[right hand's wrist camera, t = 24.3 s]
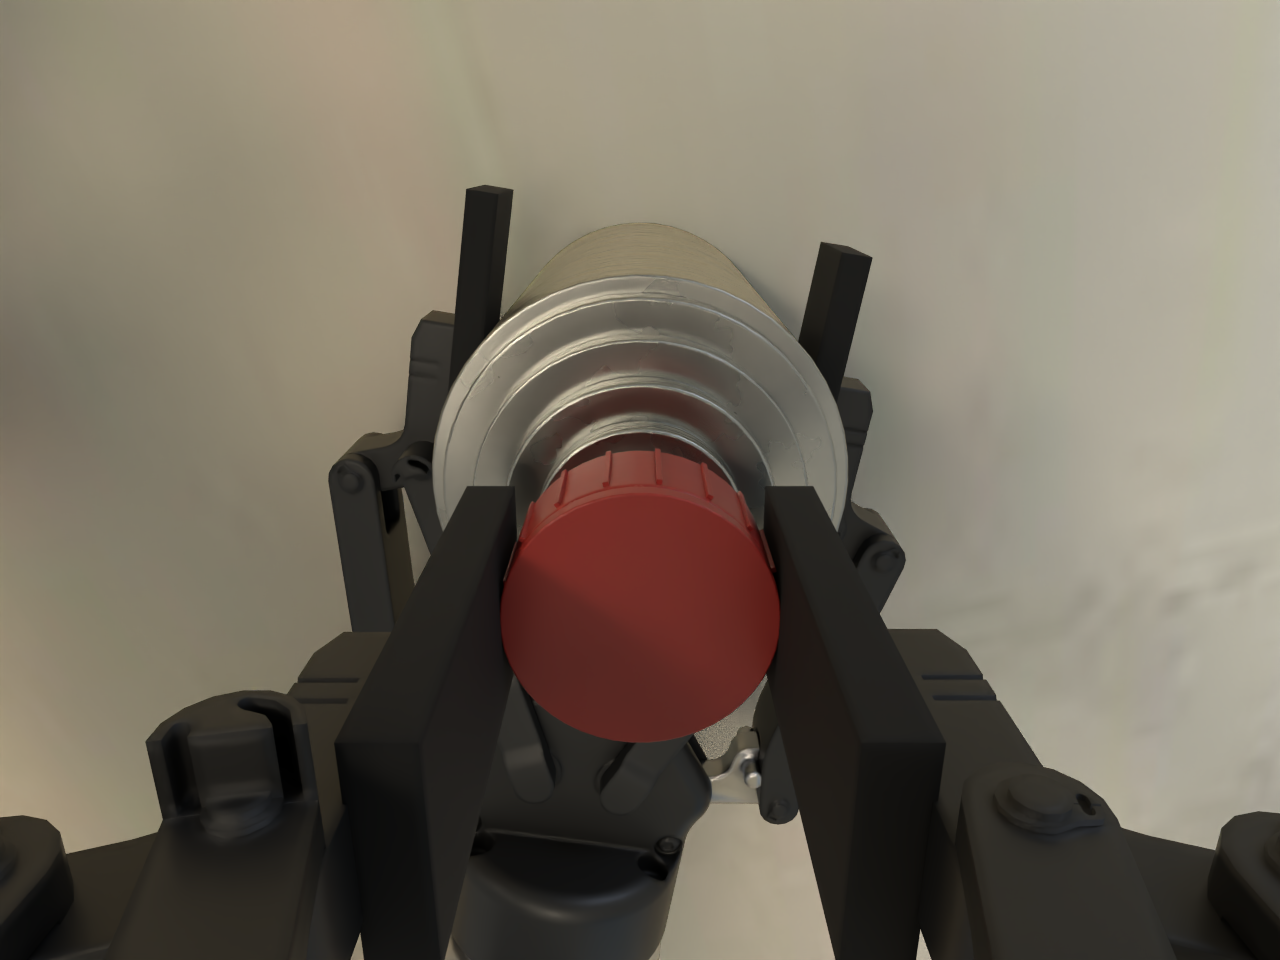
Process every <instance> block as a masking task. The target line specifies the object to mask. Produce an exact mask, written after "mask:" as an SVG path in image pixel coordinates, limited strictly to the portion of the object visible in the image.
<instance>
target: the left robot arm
mask: <svg viewBox="0 0 1280 960" xmlns="http://www.w3.org/2000/svg"><path fill="white" fill-rule="evenodd" d="M512 199H513V190H512V189H506V188H500V187H494V186H489V185H482V186H478V187H473V188H468V189H466V199H465V210H464V221H463V232H462V243H461V254H460V265H459V276H458V287H457V298H456V309H455V314H453V313H446V312H440V311H434V310H433V311H431V312H430V313H429V314H428V315H426V316H425V317H424V318H422V319H421V320H420V322H419V324H418V326H417V328H416V330H415V332H414V334H413V336H412V340H411V353H410V366H409V380H408V393H407V406H406V419H405V427H404V430H401V431H398V432H394V433H389V434H381V433H375V432H372V433H368V434H365V435H364V436H362V437H361V438H360V439H359V440H358V441H357V442H356V443H355V444H354V445H353V446H352V447H351V448H350V449H349V450H348V451H347V452H346V453H345V454H344V455H343V456H342V457H341V458H340V459H339V460H338V461H337V462H336V463H335V464H334V465H333V466H332V468H331V470H330V472H329V480H328V482H329V488H330V494H331V500H332V507H333V513H334V519H335V526H336V532H337V538H338V544H339V551H340V557H341V563H342V570H343V576H344V582H345V588H346V595H347V601H348V607H349V614H350V620H351V626H352V632H392V630H393V628H394V626H395V624H396V622H397V620H398V618H399V616H400V614H401V612H402V610H403V608H404V607H405V605H406V603H407V601H408V599H409V597H410V595H411V593H412V591H413V589H414V580H413V573H412V565H411V557H410V550H409V542H408V534H407V526H406V519H405V511H404V503H403V495H402V488H403V487H404V488H405V490H406V493H407V495H408V498H409V500H410V503H411V505H412V508H413V511H414V513H415V516H416V518H417V521H418V523H419V526H420V528H421V531H422V534H423V536H424V539H425V541H426V544H427V546H428V549H429V551H430V554H432V552H433V551H434V549H435V547H436V545H437V543H438V541H439V539H440V537H441V535H442V533H443V530H442V527H441V524H440V520H439V517H438V514H437V509H436V503H435V497H434V492H433V476H432V459H433V449H434V440H435V434H436V430H437V426H438V422H439V418H440V414H441V411H442V408H443V406H444V404H445V401H446V399H447V396H448V394H449V391H450V389H451V387H452V385H453V383H454V381H455V380H456V378H457V376H458V375H459V373H460V371H461V370H462V368H463V366H464V364H465V363H466V362H467V360H468V359H469V358H470V357H471V355H472V354H473V353H474V352H475V350H476V349H477V348H478V346H479V345H480V344H481V343H482V341H483V340H484V339H485V338H486V337H487V335H488V334H489V333H490V332H491V331H492V329H493V328H494V327H495V326H496V325H497V323H498V322H499V319H500V310H501V301H502V291H503V282H504V273H505V264H506V254H507V245H508V236H509V227H510V217H511V208H512ZM871 262H872V257H870V256H868V255H866V254H864V253H861V252H859V251H857V250H855V249H853V248H850V247H848V246H843V245H837V244H831V243H825V242H821V244H820V248H819V253H818V257H817V261H816V266H815V270H814V275H813V279H812V284H811V288H810V292H809V297H808V301H807V306H806V310H805V315H804V319H803V323H802V328H801V332H800V337H799V341H798V342H799V344H800V345H801V346H802V347H803V348H804V350H805V351H806V352H807V353H808V354H809V356H810V357H811V358H812V360H813V361H814V363H815V364H816V366H817V368H818V369H819V371H820V372H821V374H822V375H823V377H824V379H825V380H826V382H827V384H828V387H829V389H830V391H831V393H832V395H833V398H834V400H835V402H836V404H837V407H838V411H839V414H840V417H841V421H842V424H843V428H844V432H845V439H846V446H847V453H848V486H847V493H846V500H845V507H844V511H843V514H842V518H841V521H840V525H839V529H838V532H837V533H838V535H839V537H840V539H841V541H842V542H843V544H844V546H845V548H846V550H847V552H848V554H849V556H850V558H851V560H852V562H853V564H854V566H855V568H856V569H857V571H858V573H859V575H860V577H861V579H862V581H863V583H864V585H865V587H866V589H867V591H868V593H869V595H870V596H871V598H872V600H873V602H874V604H875V606H876V608H877V610H878V612H879V614H880V612H881V611H882V609H883V607H884V605H885V603H886V601H887V599H888V597H889V595H890V593H891V591H892V589H893V587H894V585H895V584H896V582H897V580H898V578H899V576H900V574H901V572H902V570H903V568H904V565H905V561H906V559H905V553H904V551H903V550H902V548H901V547H900V545H899V543H898V542H897V540H896V539H895V537H894V536H893V534H892V533H891V531H890V530H889V528H888V527H887V525H886V524H885V522H884V521H883V519H882V518H881V516H880V515H879V513H877V512H876V511H874V510H872V509H868V508H862V507H860V506H858V505H856V504H854V503H853V502H851V493H852V489H853V485H854V482H855V478H856V474H857V470H858V466H859V463H860V459H861V455H862V451H863V445H864V443H865V440H866V436H867V431H868V428H869V424H870V421H871V417H872V413H873V409H872V401H871V394H870V391H869V390H868V389H867V388H866V387H865V386H864V385H863V384H862V383H861V382H860V381H859V380H858V379H854V378H848V377H843V376H844V372H845V368H846V364H847V360H848V355H849V351H850V347H851V343H852V339H853V335H854V331H855V327H856V323H857V319H858V315H859V311H860V307H861V303H862V299H863V295H864V291H865V286H866V282H867V278H868V274H869V270H870V266H871ZM710 804H759V809H760V814H761V816H762V817H763V819H764V820H766V821H767V822H769V823H772V824H785V823H787V822H789V821H791V820H793V818H794V817H795V816H796V815H797V813H798V810H799V807H798V803H797V798H796V794H795V790H794V786H793V782H792V778H791V774H790V769H789V765H788V761H787V757H786V753H785V749H784V745H783V741H782V736H781V732H780V728H779V724H778V720H777V716H776V712H775V707H774V703H773V699H772V695H771V691H770V687H769V683H768V680H767V682H766V684H765V686H764V688H763V690H762V693H761V695H760V697H759V700H758V702H757V705H756V709H755V713H754V717H753V725H752V728H751V727H748V726H744V727H741V728H740V729H739V730H738V731H737V735H736V736H735V737H734V738H733V739H732V741H731V743H730V746H729V748H728V750H727V752H726V753H725V754H724V755H722V756H721V757H719V758H716V759H710V760H708V759H707V757H706V755H705V753H704V752H703V750H702V748H701V746H700V745H699V743H698V741H697V739H696V738H695V736H694V733H693V734H690V735H687V736H684V737H680V738H675V739H671V740H666V741H657V742H623V741H614V740H609V739H605V738H601V737H596V736H594V735H591V734H588V733H585V732H582V731H580V730H578V729H576V728H573V727H571V726H569V725H567V724H565V723H564V722H562V721H560V720H559V719H557V718H556V717H554V716H553V715H551V714H550V713H549V712H547V711H546V710H545V709H544V708H543V707H541V706H540V705H539V704H538V703H537V702H536V701H535V700H534V699H533V698H532V697H531V696H530V695H529V694H528V693H527V691H526V690H525V689H524V687H523V686H522V684H521V683H520V682H519V680H518V679H517V677H516V676H515V674H514V675H513V679H512V683H511V688H510V692H509V696H508V700H507V704H506V708H505V712H504V717H503V721H502V725H501V729H500V733H499V737H498V741H497V745H496V750H495V754H494V758H493V762H492V766H491V770H490V774H489V779H488V783H487V787H486V791H485V795H484V799H483V803H482V808H481V812H480V816H479V820H478V824H477V828H476V832H475V837H474V841H473V845H472V849H471V853H470V857H469V861H468V865H467V870H466V874H465V878H464V882H463V886H462V890H461V894H460V899H459V903H458V907H457V911H456V915H455V919H454V923H453V928H452V932H451V936H450V940H449V944H448V948H447V952H446V956H445V960H659V955H660V945H661V939H662V936H663V934H664V931H665V927H666V922H667V918H668V913H669V909H670V904H671V900H672V896H673V891H674V887H675V882H676V878H677V873H678V869H679V864H680V860H681V856H682V851H683V847H684V842H685V839H686V836H687V833H688V831H689V830H690V828H691V827H692V825H693V824H694V823H695V822H696V821H697V820H698V819H699V818H700V817H701V816H702V815H703V814H704V813H705V812H706V810H707V809H708V807H709V805H710Z"/></svg>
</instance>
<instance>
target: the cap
mask: <svg viewBox="0 0 1280 960" xmlns="http://www.w3.org/2000/svg"><path fill="white" fill-rule="evenodd" d="M774 572H777V571H776V568H775V564H774V561H773V558H772V555H771V552H770V549H769V546H768V543H767V540H766V537H765V534H764V531H763V529H762V530H759V529H758V526H757V524H756V521H755V519H754V517H753V515H752V513H751V512H750V510H749V508H748V506H747V505H746V502H745V499H744V496H743V493H742V492H741V491H739V492H736V491H735V490H734V489H733V488H732V487H731V486H730V485H729V484H728V483H727V482H726V481H725V480H723V479H722V478H721V477H719V476H718V475H716V474H715V473H714V472H712V471H711V470H709V469H708V468H707V464H705V463H703V462H702V463H701V465H700V464H698V463H696V462H693V461H691V460H688V459H686V458H683V457H679V456H676V455H672V454H668V453H662V452H661V450H660V449H656V448H655V452H654V451H627V452H618V453H613V454H612V452H611V451H607V452H606V455H605V456H601V457H598V458H595V459H592V460H590V461H587V462H585V463H582V464H581V465H579V466H577V467H575V468H573V469H571V470H570V471H567V470H566V469H565V470H564V471H562V473H561V477H560V478H558V479H557V480H556V481H555V482H554V483H553V484H552V485H550V486H549V487H548V488H547V489H546V490H545V491H544V492H543V494H542V495H541V496H540V497H539V499H538V500H537V501H536V502H535V503H534V502H533V501H532V502H531V503H530V505H529V508H528V511H527V514H526V517H525V521H524V524H523V527H522V530H521V532H520V535H519V539H518V542H515V545H514V548H513V551H512V554H511V557H510V560H509V564H508V567H507V570H506V573H505V576H504V579H503V586H504V587H503V591H502V595H501V600H500V622H501V637H502V644H503V648H504V651H505V654H506V656H507V659H508V662H509V664H510V666H511V668H512V670H513V672H514V674H515V676H516V677H517V679H518V680H519V682H520V683H521V684H522V686H523V687H524V689H525V690H526V691H527V693H528V694H529V695H530V696H531V697H532V698H533V699H534V700H535V701H536V702H537V703H538V704H539V705H540V706H541V707H543V708H544V709H545V710H546V711H547V712H549V713H550V714H551V715H553V716H554V717H556V718H557V719H559V720H560V721H562V722H564V723H565V724H567V725H569V726H571V727H573V728H576V729H578V730H580V731H582V732H585V733H588V734H591V735H594V736H596V737H601V738H605V739H609V740H614V741H623V742H657V741H666V740H671V739H675V738H680V737H684V736H687V735H690V734H693V733H695V732H698V731H701V730H703V729H705V728H707V727H709V726H711V725H713V724H715V723H717V722H718V721H720V720H721V719H723V718H725V717H726V716H728V715H729V714H730V713H732V712H733V711H734V710H735V709H737V708H738V707H739V706H740V705H742V704H743V702H744V701H745V700H746V699H747V698H748V697H749V696H750V695H751V694H752V693H753V692H754V691H755V689H756V688H757V686H758V685H759V684H760V682H761V681H762V680H763V678H764V676H765V674H766V672H767V671H768V669H769V667H770V665H771V663H772V660H773V658H774V655H775V652H776V649H777V645H778V640H779V625H780V598H779V594H778V589H777V585H776V582H775V579H774V576H773V573H774Z"/></svg>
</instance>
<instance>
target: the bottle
mask: <svg viewBox="0 0 1280 960" xmlns="http://www.w3.org/2000/svg"><path fill="white" fill-rule="evenodd" d="M655 448H656V449H660V450H661V452H662V453H668V454H672V455H676V456H679V457H683V458H686V459H688V460H691V461H693V462H696V463H698V464H700V465H701V463H702V462H703V463H705V464H707V468H708V469H709V470H711V471H712V472H714V473H715V474H716V475H718V476H719V477H721V478H722V479H723V480H725V481H726V482H727V483H728V484H729V485H730V486H731V487H732V488H733V489H734V490H735V491H736V492H739V491H741V492H742V493H743V496H744V499H745V502H746V505H747V506H748V508H749V510H750V512H751V513H752V515H753V517H754V519H755V521H756V524H757V526H758V529H759V530H762V529H763V522H764V503H765V486H814V488H815V490H816V492H817V494H818V496H819V498H820V500H821V502H822V504H823V506H824V508H825V510H826V512H827V513H828V515H829V517H830V519H831V521H832V523H833V525H834V527H835V529H836V531H837V532H838V529H839V525H840V521H841V518H842V514H843V511H844V507H845V500H846V493H847V486H848V453H847V446H846V439H845V432H844V428H843V424H842V421H841V417H840V414H839V411H838V407H837V404H836V402H835V400H834V398H833V395H832V393H831V391H830V389H829V387H828V384H827V382H826V380H825V379H824V377H823V375H822V374H821V372H820V371H819V369H818V368H817V366H816V364H815V363H814V361H813V360H812V358H811V357H810V356H809V354H808V353H807V352H806V351H805V350H804V348H803V347H802V346H801V345H800V344H799V342H798V341H797V340H796V339H795V338H794V336H793V335H792V334H791V333H790V332H789V330H788V329H787V328H786V327H785V326H784V324H783V323H782V322H781V321H780V320H779V318H778V317H777V316H776V315H775V314H774V312H773V311H772V310H771V309H770V308H769V306H768V305H767V304H766V303H765V302H764V300H763V299H762V298H761V297H760V295H759V294H758V293H757V292H756V291H755V289H754V288H753V287H752V286H751V285H750V283H749V282H748V281H747V280H746V279H745V277H744V276H743V275H742V274H741V273H740V271H739V270H738V269H737V268H736V267H735V266H734V264H733V263H732V262H731V261H730V260H729V259H728V258H727V257H726V256H725V255H723V254H722V253H721V252H720V251H719V250H718V249H717V248H715V247H714V246H712V245H711V244H709V243H708V242H706V241H705V240H703V239H701V238H699V237H697V236H695V235H693V234H691V233H689V232H686V231H683V230H680V229H677V228H674V227H671V226H666V225H660V224H655V223H628V224H619V225H615V226H610V227H606V228H602V229H600V230H597V231H594V232H592V233H589V234H587V235H585V236H583V237H581V238H580V239H578V240H576V241H574V242H572V243H571V244H570V245H568V246H567V247H565V248H564V249H563V250H561V251H560V252H559V253H558V254H557V255H556V256H555V257H554V258H553V259H552V260H550V261H549V262H548V263H547V265H546V266H545V267H544V268H543V269H542V271H541V272H540V273H539V274H538V275H537V277H536V278H535V279H534V280H533V281H532V283H531V284H530V285H529V286H528V287H527V289H526V290H525V291H524V292H523V293H522V295H521V296H520V297H519V298H518V299H517V301H516V302H515V303H514V304H513V305H512V307H511V308H510V309H509V310H508V311H507V313H506V314H505V315H504V316H503V317H502V319H501V320H500V321H499V322H498V323H497V325H496V326H495V327H494V328H493V329H492V331H491V332H490V333H489V334H488V335H487V337H486V338H485V339H484V340H483V341H482V343H481V344H480V345H479V346H478V348H477V349H476V350H475V352H474V353H473V354H472V355H471V357H470V358H469V359H468V360H467V362H466V363H465V364H464V366H463V368H462V370H461V371H460V373H459V375H458V376H457V378H456V380H455V381H454V383H453V385H452V387H451V389H450V391H449V394H448V396H447V399H446V401H445V404H444V406H443V408H442V411H441V414H440V418H439V422H438V426H437V430H436V434H435V440H434V449H433V459H432V476H433V492H434V497H435V503H436V509H437V514H438V517H439V520H440V524H441V527H442V530H443V531H444V529H445V527H446V525H447V524H448V522H449V520H450V518H451V516H452V514H453V512H454V510H455V508H456V506H457V504H458V502H459V500H460V498H461V497H462V495H463V493H464V491H465V489H466V487H467V486H515V499H516V518H517V538H518V539H519V535H520V532H521V530H522V527H523V524H524V521H525V517H526V514H527V511H528V508H529V505H530V503H531V502H532V501H533V502H534V503H535V502H536V501H537V500H538V499H539V497H540V496H541V495H542V494H543V492H544V491H545V490H546V489H547V488H548V487H549V486H550V485H552V484H553V483H554V482H555V481H556V480H557V479H558V478H560V477H561V473H562V471H564V470H565V469H566V470H567V471H570V470H571V469H573V468H575V467H577V466H579V465H581V464H582V463H585V462H587V461H590V460H592V459H595V458H598V457H601V456H605V455H606V452H607V451H611V452H612V454H613V453H618V452H627V451H654V452H655Z"/></svg>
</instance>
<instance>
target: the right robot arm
mask: <svg viewBox="0 0 1280 960" xmlns="http://www.w3.org/2000/svg"><path fill="white" fill-rule="evenodd" d="M763 531H764V534H765V537H766V540H767V543H768V546H769V549H770V552H771V555H772V558H773V561H774V564H775V568H776V571H777V572H774V573H773V576H774V579H775V582H776V585H777V589H778V594H779V598H780V625H779V640H778V645H777V649H776V652H775V655H774V658H773V660H772V663H771V665H770V667H769V669H768V671H767V672H766V674H767V678H768V683H769V687H770V691H771V695H772V699H773V703H774V707H775V712H776V716H777V720H778V724H779V728H780V732H781V736H782V741H783V745H784V749H785V753H786V757H787V761H788V765H789V769H790V774H791V778H792V782H793V786H794V790H795V794H796V798H797V803H798V807H799V811H800V815H801V819H802V823H803V827H804V832H805V836H806V840H807V844H808V848H809V852H810V856H811V860H812V865H813V869H814V873H815V877H816V881H817V885H818V889H819V894H820V898H821V902H822V906H823V910H824V914H825V918H826V923H827V927H828V931H829V935H830V939H831V943H832V947H833V951H834V956H835V960H916V956H917V949H918V942H919V934H920V929H921V932H922V934H923V937H924V940H925V943H926V946H927V948H928V951H929V954H930V957H931V959H932V960H1280V813H1270V812H1260V811H1258V812H1253V813H1248V814H1243V815H1237V816H1234V817H1233V818H1232V819H1231V820H1230V821H1229V822H1228V823H1227V824H1226V825H1224V826H1223V827H1222V829H1221V832H1220V836H1219V839H1218V843H1217V847H1216V850H1211V849H1207V848H1202V847H1198V846H1193V845H1188V844H1184V843H1179V842H1175V841H1170V840H1166V839H1161V838H1156V837H1152V836H1148V835H1144V834H1141V833H1137V832H1134V831H1130V830H1127V829H1124V828H1121V826H1120V824H1119V822H1118V819H1117V818H1116V816H1115V815H1114V813H1113V812H1112V811H1111V809H1110V808H1109V806H1108V805H1107V804H1106V802H1105V801H1104V799H1103V798H1101V797H1100V796H1099V795H1097V794H1096V793H1095V792H1093V791H1092V790H1091V789H1089V788H1088V787H1087V786H1085V785H1084V784H1083V783H1082V782H1080V781H1078V780H1076V779H1073V778H1071V777H1069V776H1067V775H1065V774H1062V773H1060V772H1058V771H1056V770H1053V769H1050V768H1045V767H1043V766H1042V764H1041V763H1040V761H1039V760H1038V758H1037V757H1036V755H1035V754H1034V752H1033V751H1032V749H1031V748H1030V746H1029V745H1028V743H1027V741H1026V740H1025V738H1024V737H1023V735H1022V734H1021V732H1020V731H1019V729H1018V728H1017V726H1016V725H1015V723H1014V722H1013V720H1012V719H1011V717H1010V716H1009V714H1008V712H1007V711H1006V709H1005V708H1004V706H1003V705H1002V703H1001V702H1000V701H997V700H996V694H995V693H994V691H993V690H992V688H991V687H990V685H989V684H988V682H987V680H983V674H982V673H981V671H980V670H979V668H978V667H977V665H976V664H975V662H974V661H973V659H972V658H971V656H970V655H969V653H968V651H967V650H966V649H964V648H963V647H961V646H960V645H959V644H957V643H956V642H954V641H953V640H951V639H950V638H949V637H947V636H946V635H944V634H943V633H941V632H940V631H939V630H937V629H887V627H886V625H885V623H884V622H883V620H882V618H881V616H880V614H879V612H878V610H877V608H876V606H875V604H874V602H873V600H872V598H871V596H870V595H869V593H868V591H867V589H866V587H865V585H864V583H863V581H862V579H861V577H860V575H859V573H858V571H857V569H856V568H855V566H854V564H853V562H852V560H851V558H850V556H849V554H848V552H847V550H846V548H845V546H844V544H843V542H842V541H841V539H840V537H839V535H838V533H837V531H836V529H835V527H834V525H833V523H832V521H831V519H830V517H829V515H828V513H827V512H826V510H825V508H824V506H823V504H822V502H821V500H820V498H819V496H818V494H817V492H816V490H815V488H814V486H765V503H764V522H763ZM515 542H518V538H517V518H516V499H515V486H467V487H466V489H465V491H464V493H463V495H462V497H461V498H460V500H459V502H458V504H457V506H456V508H455V510H454V512H453V514H452V516H451V518H450V520H449V522H448V524H447V525H446V527H445V529H444V531H443V533H442V535H441V537H440V539H439V541H438V543H437V545H436V547H435V549H434V551H433V552H432V554H431V556H430V558H429V560H428V562H427V564H426V566H425V568H424V570H423V572H422V574H421V576H420V578H419V580H418V581H417V583H416V585H415V587H414V589H413V591H412V593H411V595H410V597H409V599H408V601H407V603H406V605H405V607H404V608H403V610H402V612H401V614H400V616H399V618H398V620H397V622H396V624H395V626H394V628H393V630H392V632H343V633H342V634H340V635H339V636H337V637H336V638H335V639H333V640H332V641H330V642H329V643H328V644H326V645H325V646H323V647H322V648H321V649H319V650H318V651H316V652H315V653H314V654H313V655H312V657H311V658H310V660H309V662H308V663H307V665H306V666H305V668H304V669H303V671H302V672H301V674H300V675H299V677H298V683H294V685H293V686H292V688H291V689H290V691H289V692H288V694H287V695H285V694H282V693H278V692H274V691H271V690H265V691H239V692H234V693H229V694H224V695H219V696H214V697H211V698H208V699H206V700H203V701H201V702H198V703H196V704H193V705H191V706H188V707H186V708H184V709H182V710H181V711H179V712H178V713H176V714H174V715H173V716H171V717H170V718H168V719H167V720H165V721H164V722H162V723H161V724H160V725H159V726H158V727H157V728H156V730H155V731H154V732H153V733H152V734H151V736H150V737H149V738H148V739H147V740H146V747H147V751H148V756H149V760H150V764H151V769H152V773H153V778H154V782H155V787H156V791H157V795H158V800H159V804H160V809H161V813H162V818H163V821H162V823H161V826H160V828H159V830H158V832H157V833H153V834H150V835H146V836H143V837H139V838H136V839H132V840H128V841H123V842H119V843H114V844H110V845H105V846H101V847H96V848H92V849H87V850H82V851H78V852H73V853H69V854H66V853H65V849H64V846H63V842H62V838H61V835H60V832H59V831H58V830H57V829H56V828H55V827H54V826H53V825H52V824H50V823H49V822H48V821H47V820H44V819H39V818H34V817H29V816H24V815H21V816H11V817H1V818H0V960H350V959H351V956H352V954H353V951H354V948H355V945H356V942H357V940H358V937H359V934H360V933H361V940H362V947H363V954H364V960H445V956H446V952H447V948H448V944H449V940H450V936H451V932H452V928H453V923H454V919H455V915H456V911H457V907H458V903H459V899H460V894H461V890H462V886H463V882H464V878H465V874H466V870H467V865H468V861H469V857H470V853H471V849H472V845H473V841H474V837H475V832H476V828H477V824H478V820H479V816H480V812H481V808H482V803H483V799H484V795H485V791H486V787H487V783H488V779H489V774H490V770H491V766H492V762H493V758H494V754H495V750H496V745H497V741H498V737H499V733H500V729H501V725H502V721H503V717H504V712H505V708H506V704H507V700H508V696H509V692H510V688H511V683H512V679H513V675H514V672H513V670H512V668H511V666H510V664H509V662H508V659H507V656H506V654H505V651H504V648H503V644H502V637H501V622H500V600H501V595H502V591H503V587H504V586H503V579H504V576H505V573H506V570H507V567H508V564H509V560H510V557H511V554H512V551H513V548H514V545H515Z"/></svg>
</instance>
